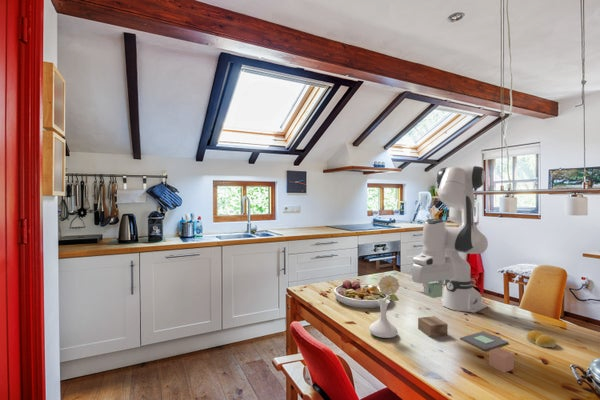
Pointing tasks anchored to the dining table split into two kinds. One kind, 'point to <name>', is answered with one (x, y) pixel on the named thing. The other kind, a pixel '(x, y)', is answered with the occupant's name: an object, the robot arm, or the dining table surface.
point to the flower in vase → (385, 308)
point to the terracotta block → (501, 359)
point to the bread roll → (541, 339)
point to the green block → (434, 290)
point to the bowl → (359, 294)
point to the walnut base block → (432, 326)
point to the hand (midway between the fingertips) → (432, 291)
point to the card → (484, 341)
